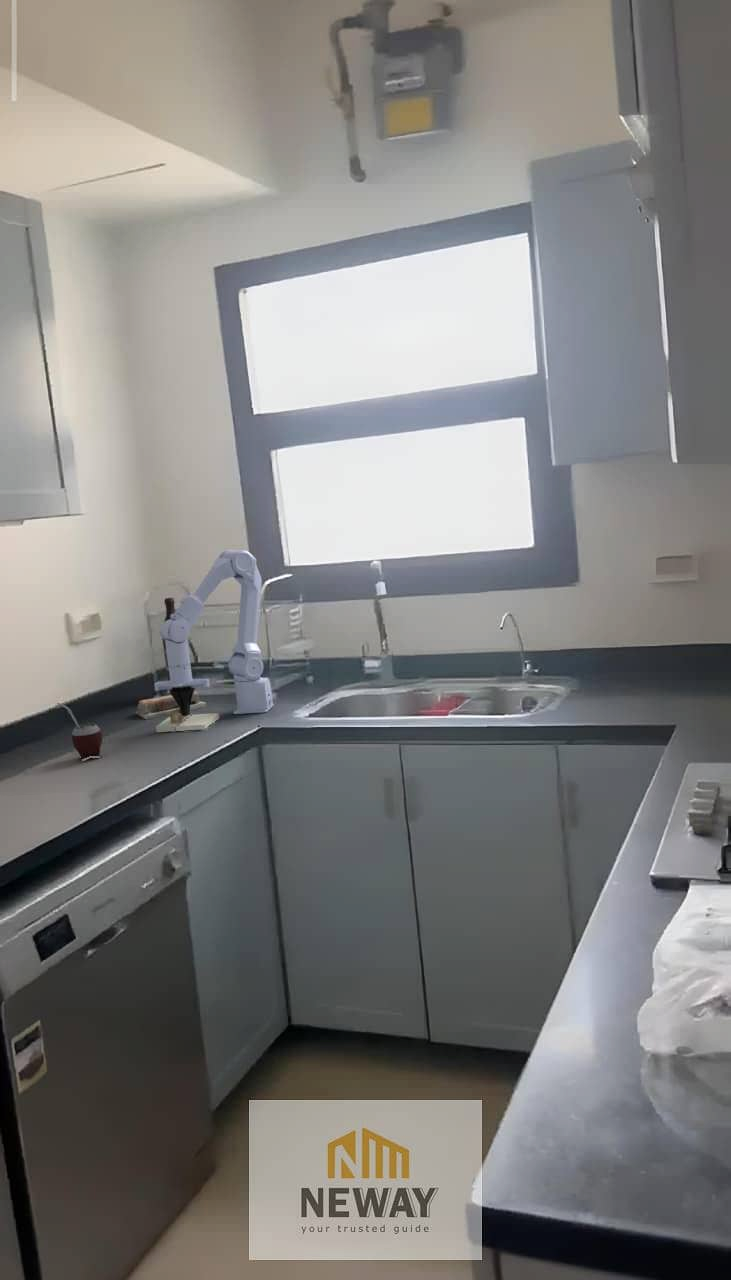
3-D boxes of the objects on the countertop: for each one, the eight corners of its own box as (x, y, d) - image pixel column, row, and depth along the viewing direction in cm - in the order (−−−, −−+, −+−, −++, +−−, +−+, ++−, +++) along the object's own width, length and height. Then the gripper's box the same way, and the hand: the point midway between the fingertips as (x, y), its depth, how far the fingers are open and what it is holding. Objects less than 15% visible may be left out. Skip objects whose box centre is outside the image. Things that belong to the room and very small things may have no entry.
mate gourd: (110, 754, 261) (101, 694, 258) (90, 763, 253) (81, 702, 251) (86, 753, 264) (77, 694, 261) (65, 763, 257) (56, 702, 254)
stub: (189, 719, 288) (187, 704, 287) (174, 731, 276) (172, 715, 275) (172, 720, 289) (170, 705, 288) (156, 732, 277) (154, 716, 276)
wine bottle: (167, 697, 321) (154, 599, 316) (190, 693, 324) (177, 595, 319) (173, 701, 315) (160, 601, 310) (196, 696, 318) (183, 597, 312)
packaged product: (143, 704, 294) (133, 699, 302) (146, 721, 294) (135, 715, 303) (205, 691, 302) (193, 686, 310) (207, 708, 303) (195, 703, 311)
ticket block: (219, 718, 286) (218, 712, 286) (205, 730, 275) (204, 724, 274) (191, 720, 288) (190, 714, 288) (175, 731, 276) (175, 725, 276)
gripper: (147, 669, 276) (154, 720, 279) (200, 666, 274) (207, 717, 276) (157, 664, 283) (164, 713, 286) (209, 660, 281) (215, 710, 283)
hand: (186, 715), depth 281 cm, fingers closed
